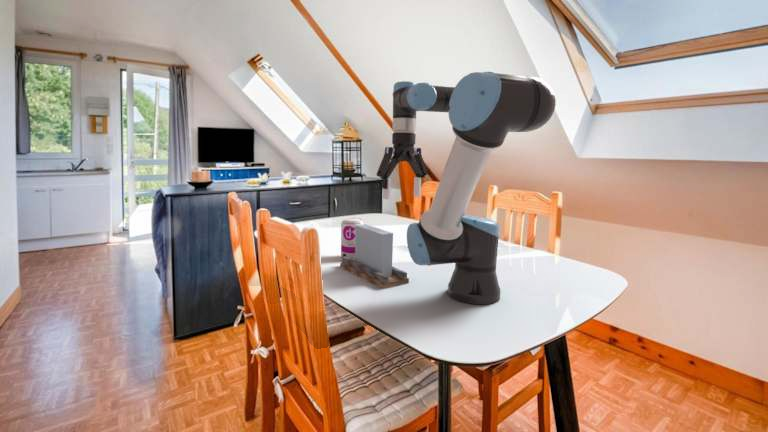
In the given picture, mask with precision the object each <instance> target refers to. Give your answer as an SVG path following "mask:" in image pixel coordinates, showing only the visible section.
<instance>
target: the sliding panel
mask: <svg viewBox="0 0 768 432" xmlns="http://www.w3.org/2000/svg"><path fill="white" fill-rule="evenodd" d="M393 241H394V233H393V232H390V231H387V230H385V229H381V228H378V227H375V226H372V225H369V224H365V223H363V225H356V231H355V261H356V262H358V263H360V264H363V265H365V266H367V267H369V268H371V269H373V270H375V271H377V272H380V273H382V274H384V275H386V276H392V267H393V251H394V250H393V247H394V245H393V243H394V242H393Z"/></svg>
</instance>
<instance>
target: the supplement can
mask: <svg viewBox="0 0 768 432" xmlns="http://www.w3.org/2000/svg"><path fill="white" fill-rule="evenodd" d="M363 224H364V222H363V220H362V218H359V217H345V218H343V219H342V221H341V223H340V228H341V229H340V230H341V231H340V233H341V234H340V257H341V258H342V257H344V256H346V257H348V258H350V259H352V260H355V231H356V225H363Z"/></svg>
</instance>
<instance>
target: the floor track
mask: <svg viewBox="0 0 768 432" xmlns="http://www.w3.org/2000/svg"><path fill="white" fill-rule="evenodd" d="M341 258H342V260H341V261H342V262H340V265H339V267H340V268H342V269H344V270H346V271H348V272H349V273H351V274H354V275H355V276H357V277H360V278H361V279H363V280H365V281H367V282H369V283H371V284H373V285H375V286H377V287H378V288H381V289H382V290H384V289H388V288H393V287H398V286H402V285H407V284H409V282H410V279H409V277H408V273H407V272H406V271H404V270H402V269H399V268H397V267H395V266H392V276H386V275H384V274H382V273H380V272H377V271H375V270H373V269H371V268H369V267H367V266H365V265H363V264H360V263H358V262H356V261H355V260H352V259H350V258H348V257H346V256H344V257H341Z"/></svg>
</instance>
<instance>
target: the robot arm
mask: <svg viewBox="0 0 768 432" xmlns="http://www.w3.org/2000/svg"><path fill="white" fill-rule="evenodd" d="M556 101H557V100H556V95H555V92H554V91H553V89H552V87H551V86H550V84H548V83H547V82H546V81H544V80H543V79H541V78H539V77H535V76H528V75H515V74H507V73H497V72H493V71H483V72H481V71H480V72H479V71H478V72H477V71H475V72H474V71H473V72H470V73H468V74H466V75H465V76H463V77H462V78H461V79H460V80H459V81H458V82H457V83H456V84H455V86H442V85H440V86H439V85H432V84H430V83H428V82H417V83H416V82H414V81H410V80H409V81H408V80H406V81H404V80H403V81H397V82H395V83H394V84H393V92H392V131H393V132H392V133H391V134H392V135H391V136H392V137H391V138H392V139H391V140H392V141H391V144H392V145H393V146H386V147H385V148H384V154H383V157H382V160H381V162H380V164H379V167H378V169H377V172H376V176H377V177H379V178H380V179H381V189H382V199H383V200H391V183H392V182H391V180H392V179H391V178H390V176H392V175H391V174H392V173H393V172H394V170H395V169H396V167H397V166H398V164H399V163H400V162H406V163H408V165H409V166H410V168H411V170H412V172H413V173H414V175H415V176H414V177H413V197H417V198H422V197H421V196H422V187H423V178H425V177H426V176H427V175H428V171H427V168H426V165H425V162H424V159H423V158H424V157H423V156H422V148H421V147H414V146H415V144H416V133H415V132H416V131H417V112H428V113H429V112H430V113H431V112H432V113H433V112H434V113H448V119H449V123H450V124H451V126H452V129H451V130H452V132H453V133H454V136H455V139H454V142H453V144H452V146H451V150H450V153H449V154H448V158H447V161H446V163H445V167H444V169H443V172H442V174H441V177H440V180H439V183H438V186H437V188H436V191H435V193H434V197H433V199H432V202H431V204H430V208H429V209H427V210H425V211H424V212H422V214H421V216H420V219H419V221H418V222H413V223H409V225H408V226H407V229H406V244H407V249H408V253H409V256H410V257H411V258H410V259H411V260H412V262H413V263H414V264H416V265H418V266H427V267H428V266H436V265H443V264H444V265H447V264H454V270H453V272H452V275H451V276H450V277H451V278H450V281H449V282H448V283H447V284H448V285H447V295H448V296H449V297H451V298H452V299H454V300H456V301H459V302H462V303H464V304H465V303H466V304H472V305H489V304H494V303H496V302H498V301H499V300H500V299H501V291H502V290H501V287H500V285H499V281H498V276H497V275H498V274H497V260H498V248H499V238H500V236H499V235H500V232H499V231H500V228H499V227H500V226H499V224H498V222H497V221H495V220H492V219H490V218H485V217H482V216H475V215H467V214H465V213H466V210H467V208H468V205H469V204H470V201H471V199H472V197H473V194H474V192H475V190H476V188H477V185H478V183H479V181H480V178H481V176H482V174H483V173H484V170H485V167H486V165H487V163H488V160H489V158H490V157H491V155H492V151H493V150H495V149H498V148H500V147H501V146H503V144H504V141H505V139H506V137H507V135H508V134H509V133H528V132H533V131H535V130H539V129H540V128H542V127H543V126H544V125H546V124H547V123H548V122H549V121H550V120H551V118H552V116H553V114H554V113H555V109H556Z"/></svg>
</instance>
